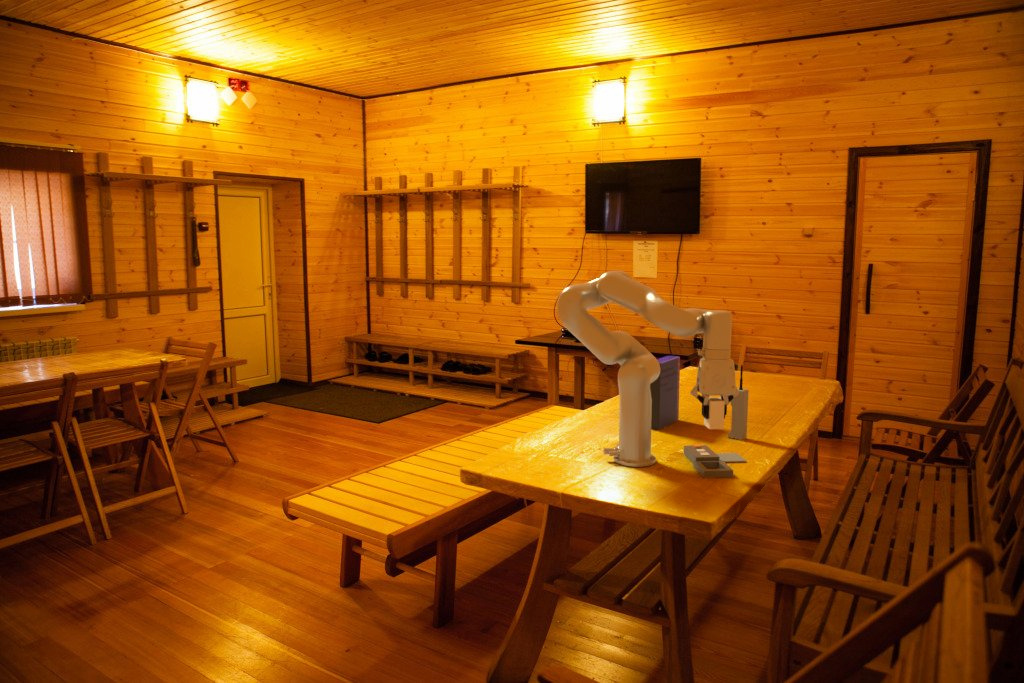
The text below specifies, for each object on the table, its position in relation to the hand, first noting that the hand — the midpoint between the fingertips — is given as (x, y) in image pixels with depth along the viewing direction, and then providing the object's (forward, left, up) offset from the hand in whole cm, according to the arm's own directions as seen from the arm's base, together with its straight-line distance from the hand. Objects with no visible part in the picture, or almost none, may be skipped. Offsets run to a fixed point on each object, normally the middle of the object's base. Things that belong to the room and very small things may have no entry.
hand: (713, 417), depth 201 cm
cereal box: (0, +54, -16) cm, 56 cm away
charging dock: (0, +6, -16) cm, 17 cm away
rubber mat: (+9, +12, -16) cm, 22 cm away
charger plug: (0, 0, -3) cm, 3 cm away
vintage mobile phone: (+20, +34, -16) cm, 43 cm away
